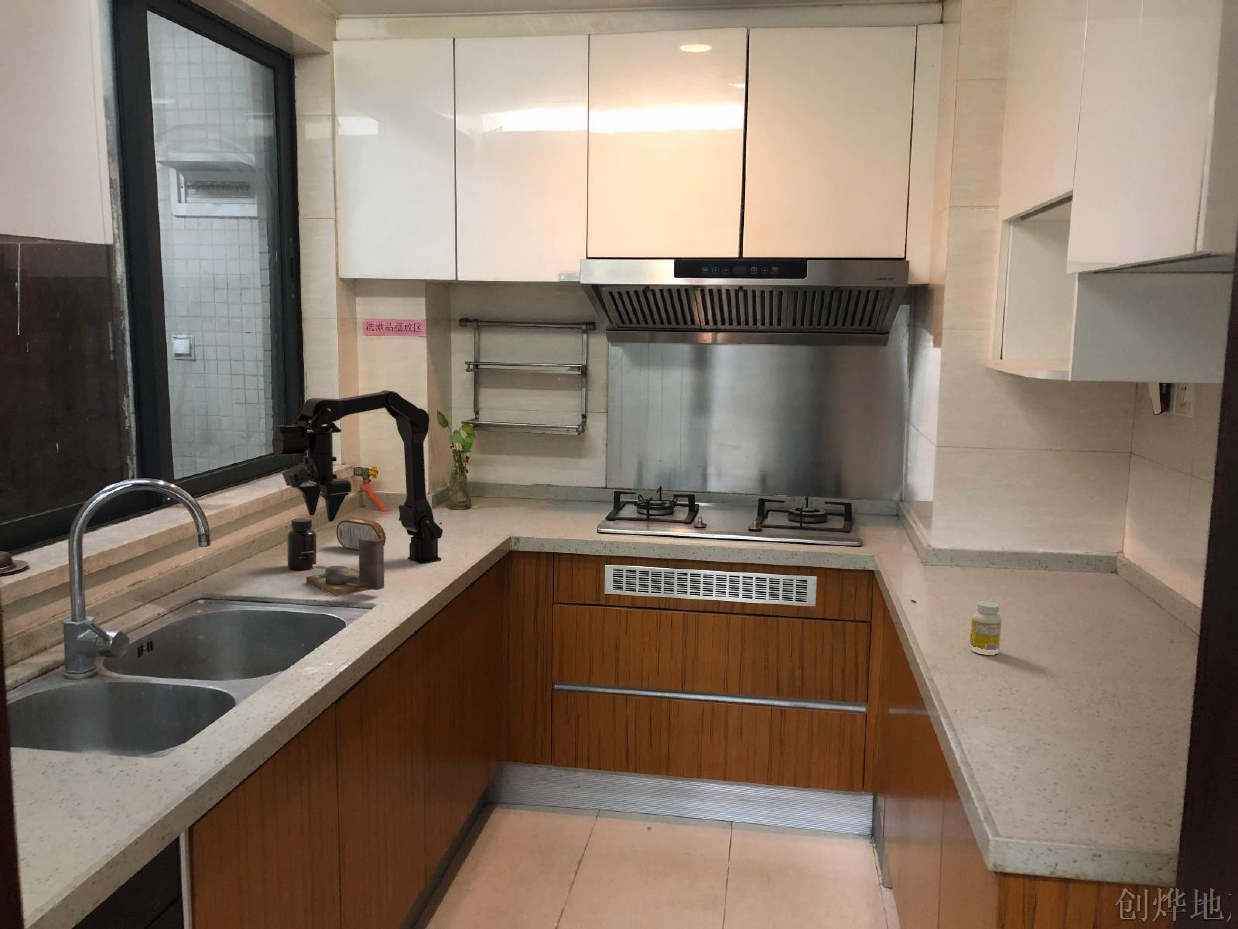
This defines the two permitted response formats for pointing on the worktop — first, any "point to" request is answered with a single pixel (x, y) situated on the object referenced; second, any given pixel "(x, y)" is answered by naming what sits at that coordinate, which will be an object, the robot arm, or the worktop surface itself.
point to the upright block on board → (361, 566)
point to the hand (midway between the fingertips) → (321, 518)
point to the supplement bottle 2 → (986, 626)
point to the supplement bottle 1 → (301, 545)
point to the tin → (358, 532)
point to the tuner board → (335, 589)
